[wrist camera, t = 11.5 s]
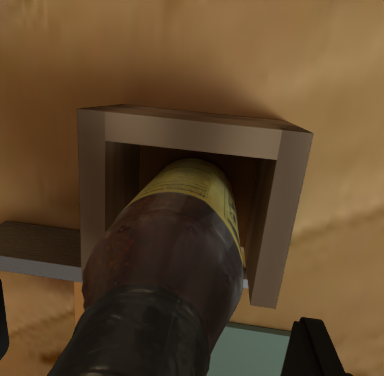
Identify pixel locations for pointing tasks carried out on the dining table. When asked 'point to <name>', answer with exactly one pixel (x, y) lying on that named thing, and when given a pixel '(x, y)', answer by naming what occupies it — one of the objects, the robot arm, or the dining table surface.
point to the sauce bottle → (160, 280)
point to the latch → (43, 254)
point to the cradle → (205, 142)
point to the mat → (249, 351)
